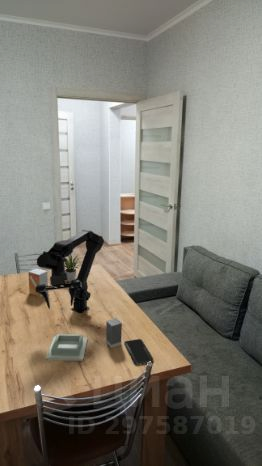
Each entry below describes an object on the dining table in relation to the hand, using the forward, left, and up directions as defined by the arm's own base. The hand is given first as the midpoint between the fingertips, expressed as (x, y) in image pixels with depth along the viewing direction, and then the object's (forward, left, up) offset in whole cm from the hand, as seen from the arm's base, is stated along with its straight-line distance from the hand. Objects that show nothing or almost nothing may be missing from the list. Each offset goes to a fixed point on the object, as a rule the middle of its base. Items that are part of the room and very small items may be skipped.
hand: (60, 307), depth 137 cm
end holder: (+5, +9, -13) cm, 17 cm away
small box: (-23, -39, -14) cm, 47 cm away
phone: (-10, +33, -14) cm, 37 cm away
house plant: (-48, -37, -14) cm, 62 cm away
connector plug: (-9, +21, -13) cm, 27 cm away
